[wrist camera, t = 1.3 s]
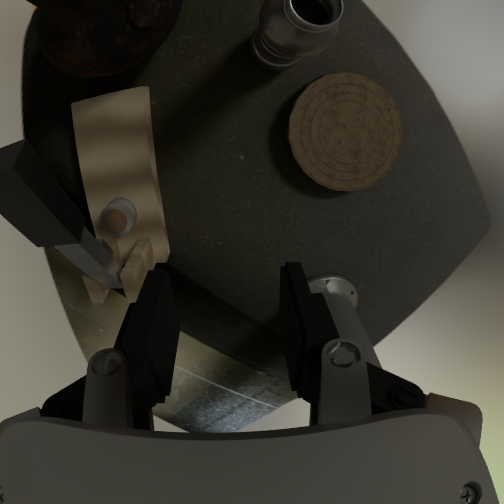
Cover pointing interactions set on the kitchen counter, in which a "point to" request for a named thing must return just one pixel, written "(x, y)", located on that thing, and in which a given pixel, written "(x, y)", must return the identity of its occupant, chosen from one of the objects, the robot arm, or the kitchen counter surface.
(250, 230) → the kitchen counter surface
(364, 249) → the kitchen counter surface
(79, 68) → the glass bottle
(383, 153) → the brown round flat disc
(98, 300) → the nutcracker base
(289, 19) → the plastic bottle
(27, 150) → the lever
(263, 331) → the kitchen counter surface
